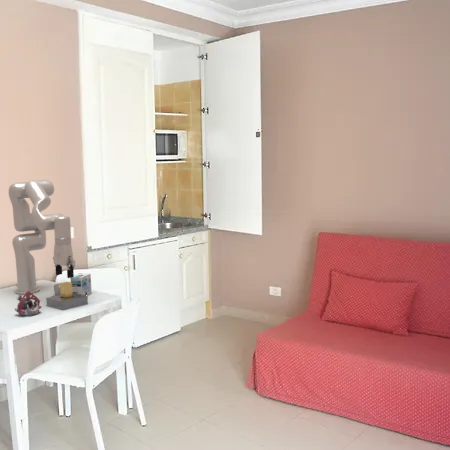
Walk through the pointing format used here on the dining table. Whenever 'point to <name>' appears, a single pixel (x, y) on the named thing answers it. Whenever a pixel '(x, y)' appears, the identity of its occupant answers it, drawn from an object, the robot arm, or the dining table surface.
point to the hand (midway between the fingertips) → (64, 276)
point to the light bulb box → (81, 284)
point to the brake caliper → (28, 305)
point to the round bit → (57, 289)
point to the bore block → (67, 301)
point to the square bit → (66, 290)
